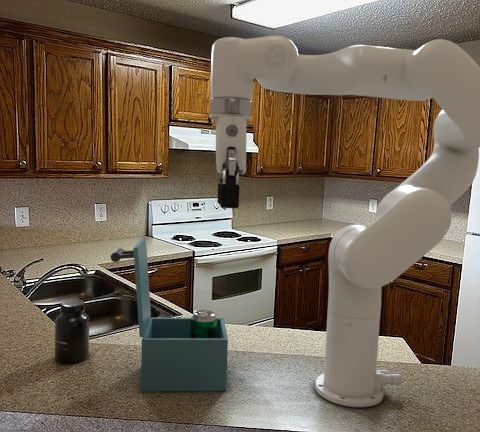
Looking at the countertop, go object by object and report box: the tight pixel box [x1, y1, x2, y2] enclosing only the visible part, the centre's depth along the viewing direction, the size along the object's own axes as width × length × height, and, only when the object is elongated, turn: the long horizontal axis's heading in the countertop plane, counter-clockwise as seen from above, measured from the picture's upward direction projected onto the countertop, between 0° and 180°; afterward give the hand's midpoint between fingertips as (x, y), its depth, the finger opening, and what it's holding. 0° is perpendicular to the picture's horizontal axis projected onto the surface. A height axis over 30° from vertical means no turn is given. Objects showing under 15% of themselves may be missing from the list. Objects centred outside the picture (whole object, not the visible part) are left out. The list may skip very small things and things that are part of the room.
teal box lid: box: [110, 237, 152, 338], centre depth 87 cm, size 16×13×6 cm
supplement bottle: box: [54, 299, 90, 365], centre depth 95 cm, size 7×7×12 cm
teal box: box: [140, 317, 229, 393], centre depth 89 cm, size 16×13×10 cm
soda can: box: [190, 309, 218, 338], centre depth 89 cm, size 5×5×12 cm
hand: (227, 205), depth 83 cm, fingers open, 9 cm apart
